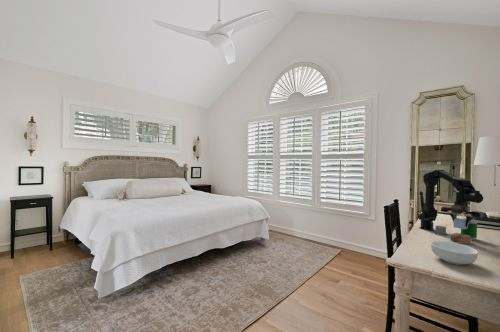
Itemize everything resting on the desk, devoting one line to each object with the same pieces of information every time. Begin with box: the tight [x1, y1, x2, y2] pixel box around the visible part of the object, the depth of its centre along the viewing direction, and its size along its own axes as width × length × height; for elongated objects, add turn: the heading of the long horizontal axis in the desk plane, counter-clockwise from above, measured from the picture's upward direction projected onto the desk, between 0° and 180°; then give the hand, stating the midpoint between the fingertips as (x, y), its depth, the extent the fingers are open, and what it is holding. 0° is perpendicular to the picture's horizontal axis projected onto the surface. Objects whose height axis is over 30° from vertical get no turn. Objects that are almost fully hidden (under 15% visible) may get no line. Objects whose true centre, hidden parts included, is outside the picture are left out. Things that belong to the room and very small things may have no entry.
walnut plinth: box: [449, 232, 471, 245], centre depth 144 cm, size 7×7×4 cm
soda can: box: [460, 217, 478, 241], centre depth 151 cm, size 8×8×12 cm
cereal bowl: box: [430, 240, 479, 266], centre depth 114 cm, size 17×17×7 cm
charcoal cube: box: [434, 225, 447, 236], centre depth 159 cm, size 5×5×5 cm
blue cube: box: [453, 217, 468, 230], centre depth 144 cm, size 5×5×5 cm
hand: (460, 226), depth 144 cm, fingers closed on blue cube, 5 cm apart
